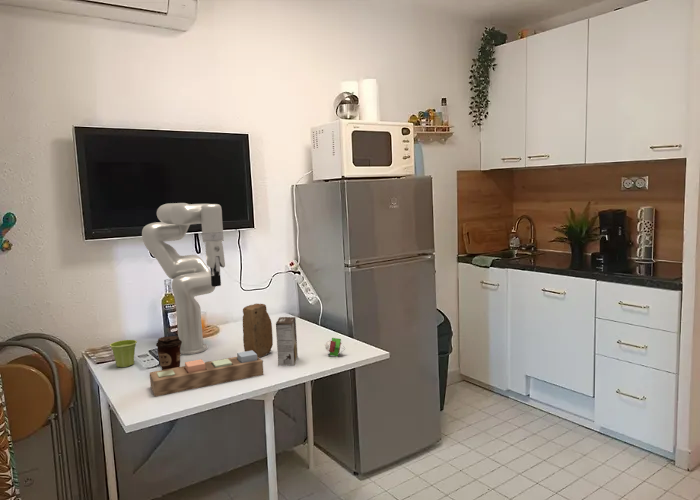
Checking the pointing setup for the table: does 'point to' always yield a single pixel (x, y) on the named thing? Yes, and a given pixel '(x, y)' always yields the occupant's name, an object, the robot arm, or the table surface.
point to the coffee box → (286, 341)
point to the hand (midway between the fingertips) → (216, 285)
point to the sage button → (221, 363)
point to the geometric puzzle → (334, 346)
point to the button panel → (202, 376)
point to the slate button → (246, 356)
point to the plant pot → (124, 352)
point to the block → (257, 329)
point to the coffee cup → (169, 352)
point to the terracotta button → (194, 366)
